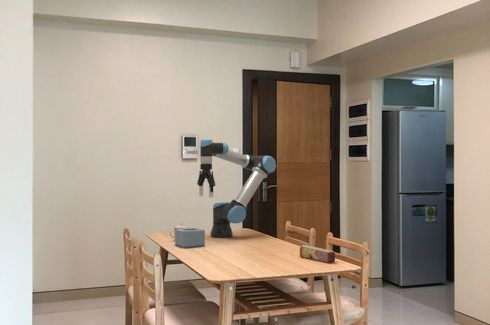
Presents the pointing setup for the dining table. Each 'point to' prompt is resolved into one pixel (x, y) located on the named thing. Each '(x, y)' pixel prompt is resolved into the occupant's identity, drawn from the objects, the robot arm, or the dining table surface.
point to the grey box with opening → (190, 237)
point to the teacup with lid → (178, 228)
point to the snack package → (317, 254)
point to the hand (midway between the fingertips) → (206, 196)
